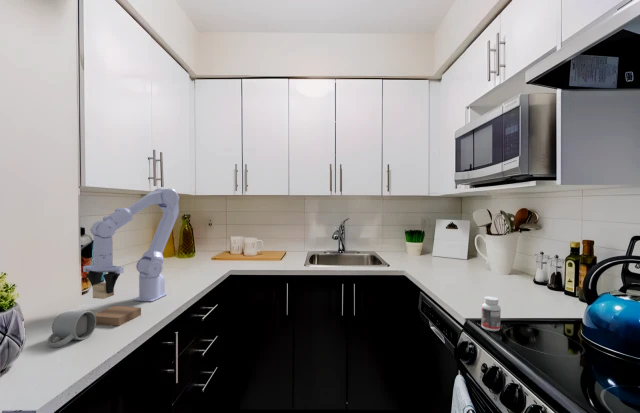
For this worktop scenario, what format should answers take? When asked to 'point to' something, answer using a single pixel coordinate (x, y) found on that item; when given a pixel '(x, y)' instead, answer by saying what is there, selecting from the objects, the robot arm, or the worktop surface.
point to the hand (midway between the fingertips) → (103, 292)
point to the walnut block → (117, 315)
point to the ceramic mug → (72, 327)
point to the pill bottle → (491, 314)
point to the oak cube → (101, 291)
